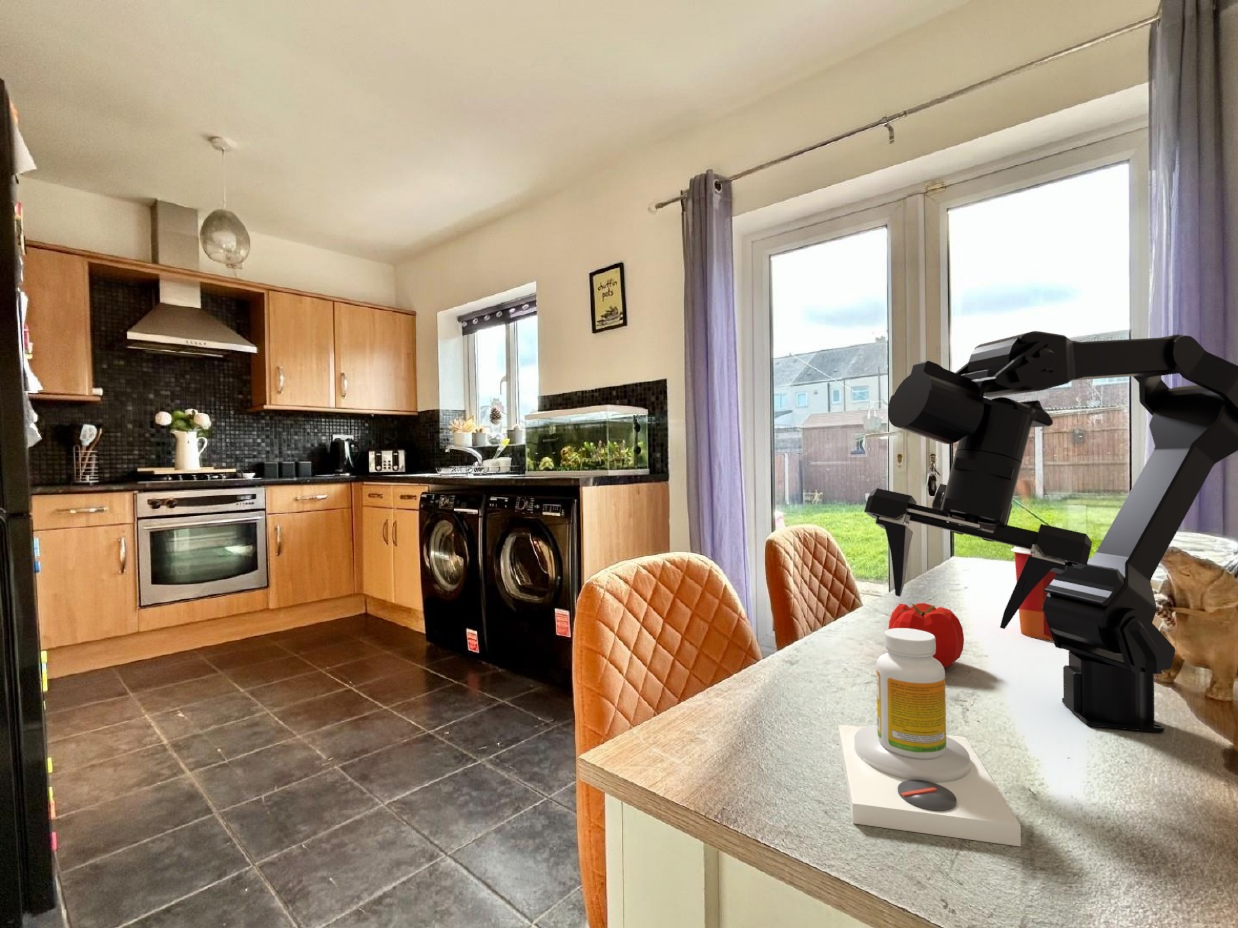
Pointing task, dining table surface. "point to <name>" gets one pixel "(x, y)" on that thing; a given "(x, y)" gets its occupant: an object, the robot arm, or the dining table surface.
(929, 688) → the supplement bottle
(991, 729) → the dining table surface
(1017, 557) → the paper cup
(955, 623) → the tomato
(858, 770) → the kitchen scale
